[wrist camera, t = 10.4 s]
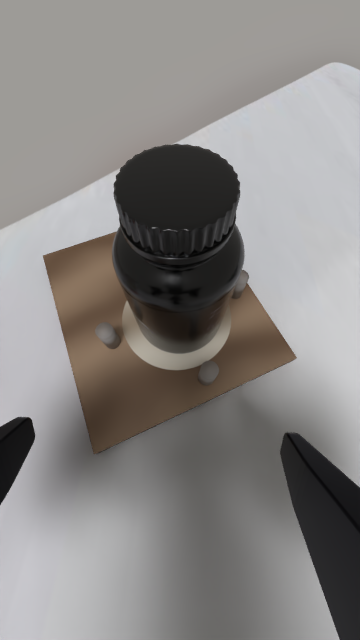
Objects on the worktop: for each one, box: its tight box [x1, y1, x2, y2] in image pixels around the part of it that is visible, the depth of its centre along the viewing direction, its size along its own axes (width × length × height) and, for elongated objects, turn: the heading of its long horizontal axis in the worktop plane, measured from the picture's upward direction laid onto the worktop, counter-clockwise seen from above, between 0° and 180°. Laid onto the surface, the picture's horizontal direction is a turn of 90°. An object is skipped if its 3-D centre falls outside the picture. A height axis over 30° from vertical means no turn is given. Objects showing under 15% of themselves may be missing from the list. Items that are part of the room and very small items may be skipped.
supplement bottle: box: [112, 144, 244, 354], centre depth 14 cm, size 7×7×12 cm
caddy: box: [43, 232, 297, 454], centre depth 20 cm, size 18×16×3 cm
